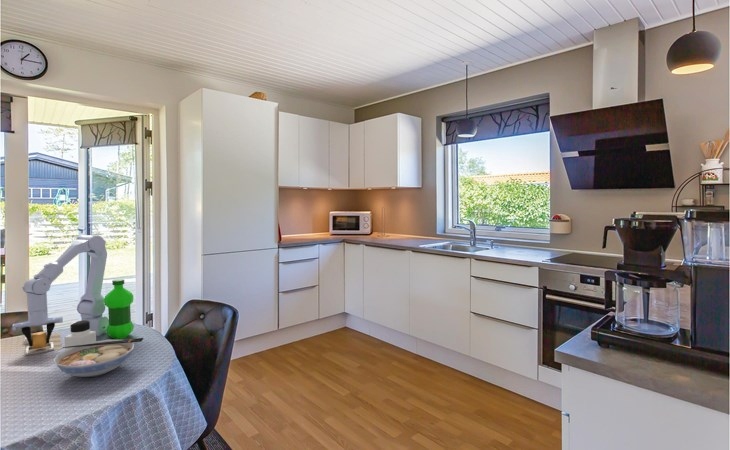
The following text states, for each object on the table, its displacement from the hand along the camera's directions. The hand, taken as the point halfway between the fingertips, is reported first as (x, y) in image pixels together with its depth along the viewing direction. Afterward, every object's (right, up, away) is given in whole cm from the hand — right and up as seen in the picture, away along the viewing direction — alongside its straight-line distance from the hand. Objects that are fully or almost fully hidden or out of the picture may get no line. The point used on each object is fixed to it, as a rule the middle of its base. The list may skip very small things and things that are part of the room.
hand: (39, 344), depth 146 cm
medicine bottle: (+14, -4, +2) cm, 15 cm away
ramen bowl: (+33, -5, -15) cm, 37 cm away
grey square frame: (0, -2, 0) cm, 2 cm away
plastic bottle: (+20, -3, +18) cm, 27 cm away
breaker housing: (-10, -1, +10) cm, 14 cm away
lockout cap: (0, -1, 0) cm, 1 cm away
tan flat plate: (-4, -3, +6) cm, 8 cm away
